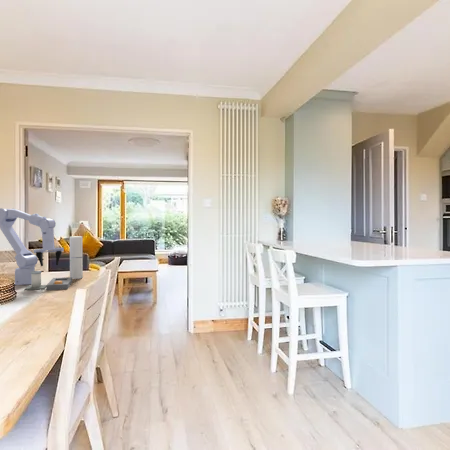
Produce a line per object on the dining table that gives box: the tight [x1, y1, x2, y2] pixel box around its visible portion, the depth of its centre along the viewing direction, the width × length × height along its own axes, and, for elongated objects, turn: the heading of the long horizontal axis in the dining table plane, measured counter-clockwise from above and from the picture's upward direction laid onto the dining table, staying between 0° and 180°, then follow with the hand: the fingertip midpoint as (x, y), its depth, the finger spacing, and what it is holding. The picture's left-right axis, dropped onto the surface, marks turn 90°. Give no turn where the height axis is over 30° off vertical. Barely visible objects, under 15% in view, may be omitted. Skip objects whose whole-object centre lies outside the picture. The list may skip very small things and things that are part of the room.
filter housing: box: [45, 276, 73, 291], centre depth 195 cm, size 10×22×2 cm, turn 17°
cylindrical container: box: [69, 235, 84, 280], centre depth 218 cm, size 7×7×25 cm
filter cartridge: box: [31, 270, 42, 288], centre depth 188 cm, size 5×5×8 cm
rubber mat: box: [24, 284, 47, 291], centre depth 188 cm, size 9×9×1 cm
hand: (49, 265), depth 197 cm, fingers open, 7 cm apart
